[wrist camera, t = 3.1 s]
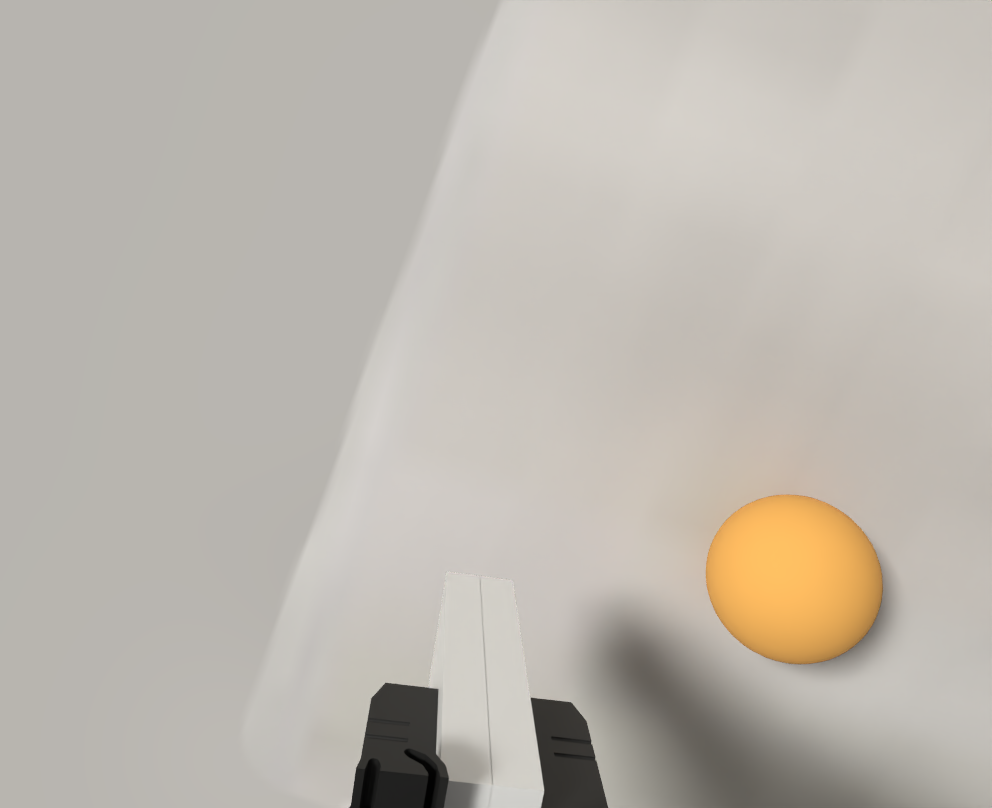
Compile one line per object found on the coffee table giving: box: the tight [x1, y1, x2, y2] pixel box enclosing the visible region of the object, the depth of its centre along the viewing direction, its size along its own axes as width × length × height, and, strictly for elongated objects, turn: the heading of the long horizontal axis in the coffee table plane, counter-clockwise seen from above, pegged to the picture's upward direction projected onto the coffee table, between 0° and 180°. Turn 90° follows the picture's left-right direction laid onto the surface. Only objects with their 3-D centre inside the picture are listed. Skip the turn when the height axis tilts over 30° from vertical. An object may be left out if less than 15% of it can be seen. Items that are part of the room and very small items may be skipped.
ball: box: [706, 495, 883, 664], centre depth 24 cm, size 5×5×5 cm
